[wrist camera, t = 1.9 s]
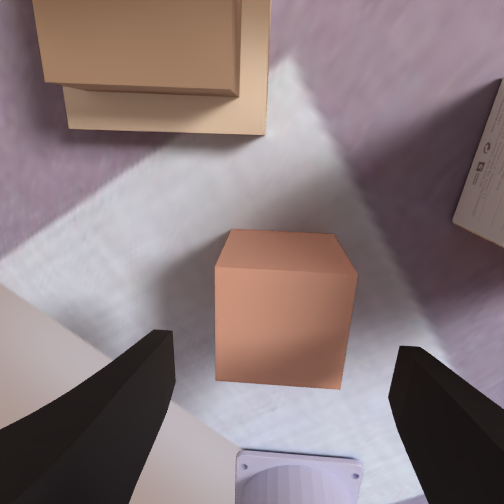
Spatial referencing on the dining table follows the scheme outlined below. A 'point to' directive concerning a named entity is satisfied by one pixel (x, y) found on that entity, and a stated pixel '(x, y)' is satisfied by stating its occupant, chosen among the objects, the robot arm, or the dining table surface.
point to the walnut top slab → (141, 45)
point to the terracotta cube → (283, 308)
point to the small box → (486, 181)
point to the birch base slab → (189, 106)
